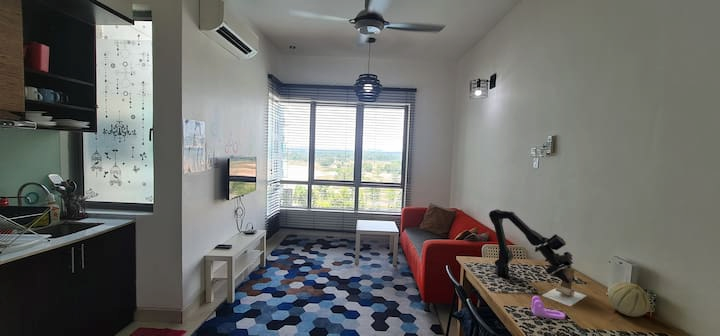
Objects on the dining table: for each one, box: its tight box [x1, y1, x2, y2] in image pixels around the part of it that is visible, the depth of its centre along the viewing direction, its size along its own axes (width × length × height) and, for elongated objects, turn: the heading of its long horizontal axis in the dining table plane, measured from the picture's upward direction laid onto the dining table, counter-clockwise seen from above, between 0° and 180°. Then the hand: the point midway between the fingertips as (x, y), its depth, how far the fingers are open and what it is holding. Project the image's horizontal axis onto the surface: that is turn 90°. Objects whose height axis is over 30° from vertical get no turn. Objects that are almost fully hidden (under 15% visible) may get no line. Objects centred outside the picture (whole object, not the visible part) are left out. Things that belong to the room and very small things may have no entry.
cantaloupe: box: [607, 281, 651, 318], centre depth 144 cm, size 15×15×15 cm
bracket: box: [530, 295, 566, 320], centre depth 142 cm, size 13×6×7 cm, turn 73°
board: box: [541, 287, 587, 307], centre depth 160 cm, size 20×13×1 cm, turn 126°
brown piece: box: [555, 267, 576, 296], centre depth 160 cm, size 7×6×13 cm
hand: (571, 281), depth 159 cm, fingers closed on brown piece, 6 cm apart
